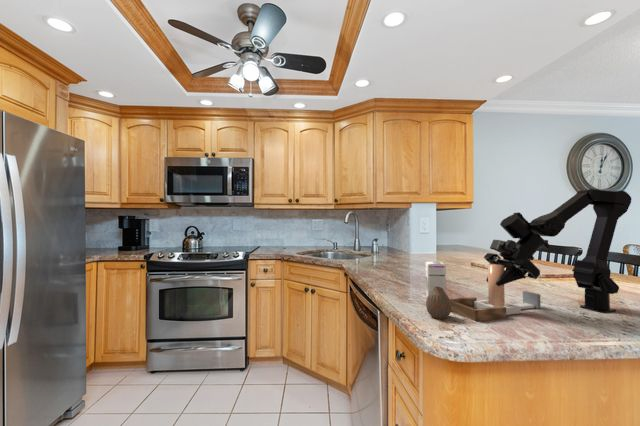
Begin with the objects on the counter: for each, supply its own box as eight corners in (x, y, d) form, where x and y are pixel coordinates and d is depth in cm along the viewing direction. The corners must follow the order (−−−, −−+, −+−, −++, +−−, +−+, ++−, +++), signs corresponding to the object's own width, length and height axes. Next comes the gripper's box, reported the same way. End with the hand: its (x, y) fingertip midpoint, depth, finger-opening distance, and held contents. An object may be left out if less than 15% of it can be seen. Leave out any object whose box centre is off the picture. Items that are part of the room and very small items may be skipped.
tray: (520, 302, 100) (519, 289, 100) (547, 310, 91) (546, 296, 91) (473, 307, 94) (473, 293, 94) (497, 315, 85) (497, 300, 85)
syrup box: (447, 308, 93) (446, 264, 93) (428, 307, 94) (427, 263, 94) (443, 303, 98) (442, 261, 99) (425, 302, 100) (424, 261, 100)
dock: (473, 305, 96) (473, 297, 96) (506, 317, 84) (506, 307, 84) (445, 308, 93) (445, 299, 93) (475, 321, 81) (474, 310, 81)
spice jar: (501, 302, 93) (500, 264, 93) (507, 306, 88) (506, 266, 89) (486, 301, 94) (485, 263, 94) (491, 305, 89) (491, 265, 90)
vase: (451, 315, 86) (451, 286, 87) (451, 322, 80) (450, 291, 80) (427, 312, 89) (426, 284, 90) (425, 318, 83) (425, 288, 83)
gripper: (488, 230, 101) (458, 261, 100) (529, 232, 82) (493, 270, 82) (510, 252, 101) (481, 283, 100) (556, 259, 83) (520, 298, 82)
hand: (492, 283), depth 91 cm, fingers closed on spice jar, 4 cm apart
